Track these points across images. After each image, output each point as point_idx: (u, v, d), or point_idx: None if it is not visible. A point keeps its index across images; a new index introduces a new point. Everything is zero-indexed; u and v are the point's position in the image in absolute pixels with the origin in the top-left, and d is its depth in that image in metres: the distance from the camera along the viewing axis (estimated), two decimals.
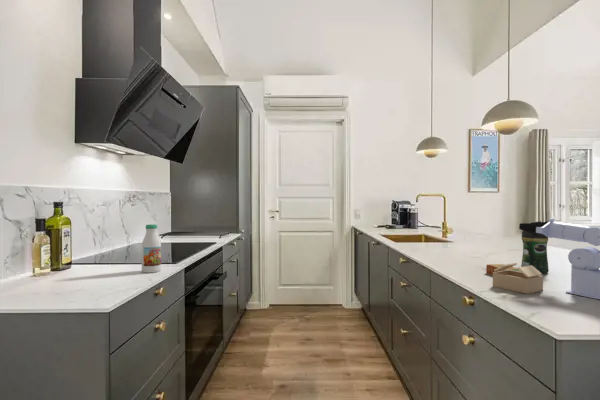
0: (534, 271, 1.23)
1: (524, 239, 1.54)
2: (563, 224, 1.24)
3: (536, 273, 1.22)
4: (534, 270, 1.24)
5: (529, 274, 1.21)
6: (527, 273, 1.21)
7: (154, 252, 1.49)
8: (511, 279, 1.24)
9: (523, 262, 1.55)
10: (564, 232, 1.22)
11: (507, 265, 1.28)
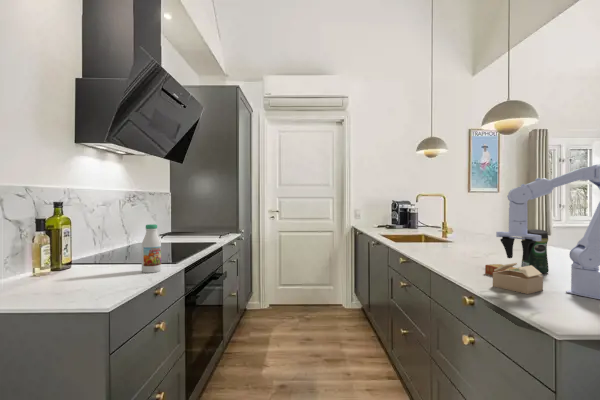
0: (534, 271, 1.23)
1: None
2: (517, 223, 1.24)
3: (536, 273, 1.22)
4: (534, 270, 1.24)
5: (529, 274, 1.21)
6: (527, 273, 1.21)
7: (154, 252, 1.49)
8: (511, 279, 1.24)
9: (523, 262, 1.55)
10: (520, 219, 1.24)
11: (507, 265, 1.28)
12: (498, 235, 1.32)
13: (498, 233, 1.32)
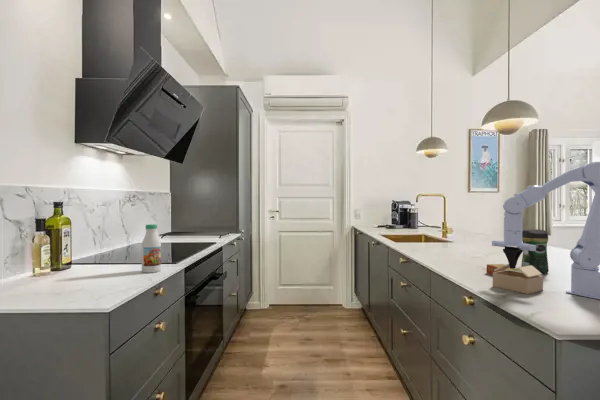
0: (534, 271, 1.23)
1: (524, 239, 1.54)
2: (512, 232, 1.26)
3: (536, 273, 1.22)
4: (534, 270, 1.24)
5: (529, 274, 1.21)
6: (527, 273, 1.21)
7: (154, 252, 1.49)
8: (511, 279, 1.24)
9: (523, 262, 1.55)
10: (514, 229, 1.25)
11: (507, 265, 1.28)
12: (493, 244, 1.33)
13: (493, 242, 1.33)
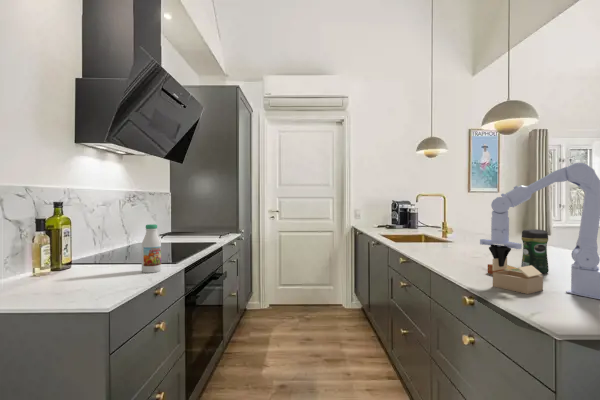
0: (534, 271, 1.23)
1: (524, 239, 1.54)
2: (499, 231, 1.30)
3: (536, 273, 1.22)
4: (534, 270, 1.24)
5: (529, 274, 1.21)
6: (527, 273, 1.21)
7: (154, 252, 1.49)
8: (511, 279, 1.24)
9: (523, 262, 1.55)
10: (500, 228, 1.30)
11: (497, 258, 1.31)
12: (481, 243, 1.37)
13: (481, 241, 1.37)
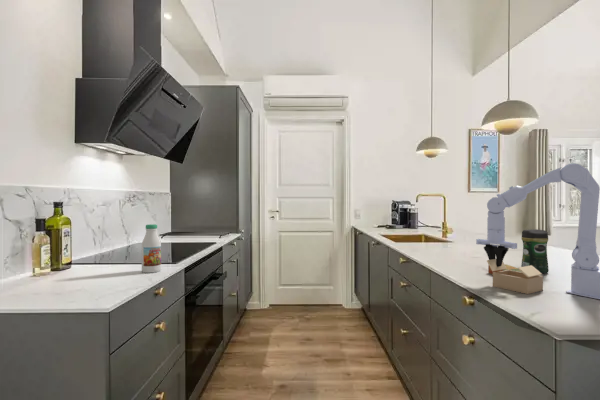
0: (534, 271, 1.23)
1: (524, 239, 1.54)
2: (495, 231, 1.31)
3: (536, 273, 1.22)
4: (534, 270, 1.24)
5: (529, 274, 1.21)
6: (527, 273, 1.21)
7: (154, 252, 1.49)
8: (511, 279, 1.24)
9: (523, 262, 1.55)
10: (495, 228, 1.31)
11: None
12: (478, 242, 1.39)
13: (478, 241, 1.38)
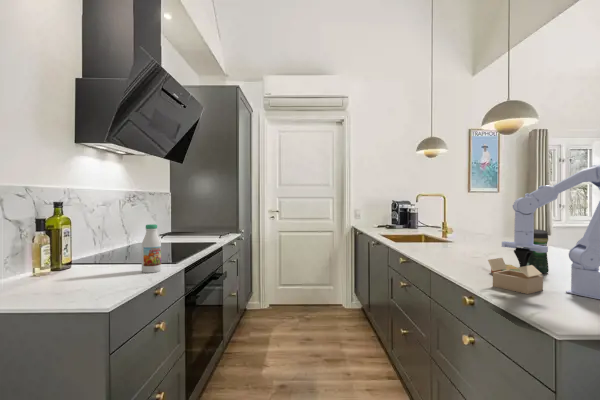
0: (534, 271, 1.23)
1: None
2: (523, 233, 1.22)
3: (536, 273, 1.22)
4: (534, 270, 1.24)
5: (529, 274, 1.21)
6: (527, 273, 1.21)
7: (154, 252, 1.49)
8: (511, 279, 1.24)
9: None
10: (526, 230, 1.22)
11: (492, 259, 1.32)
12: (503, 245, 1.30)
13: (503, 243, 1.30)
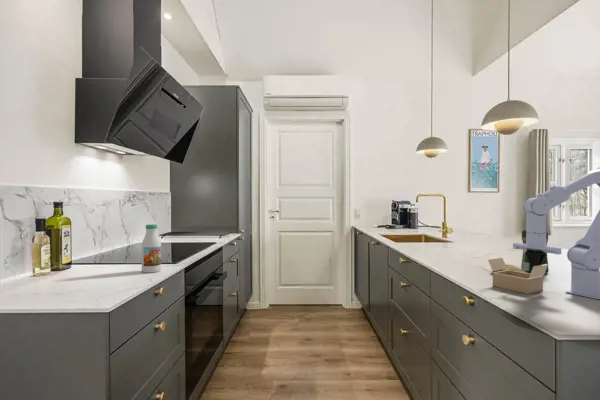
0: (541, 272, 1.21)
1: (524, 239, 1.54)
2: (536, 235, 1.19)
3: (539, 275, 1.22)
4: (542, 271, 1.22)
5: (533, 275, 1.19)
6: (533, 274, 1.19)
7: (154, 252, 1.49)
8: (511, 279, 1.24)
9: (523, 262, 1.55)
10: (540, 231, 1.18)
11: (492, 259, 1.32)
12: (515, 247, 1.26)
13: (515, 245, 1.26)
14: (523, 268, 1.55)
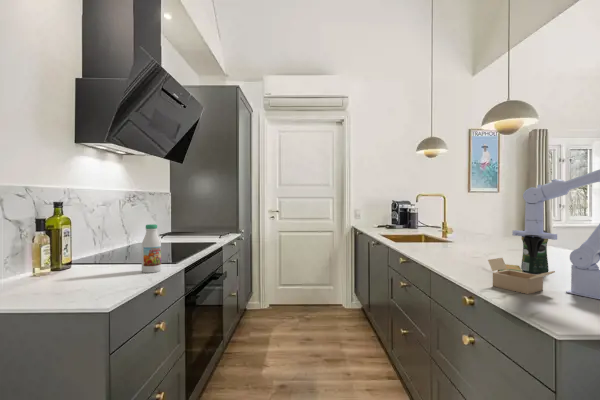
0: (543, 275, 1.21)
1: None
2: (534, 222, 1.29)
3: None
4: (545, 275, 1.21)
5: None
6: (535, 277, 1.19)
7: (154, 252, 1.49)
8: (511, 279, 1.24)
9: (523, 262, 1.55)
10: (531, 218, 1.29)
11: (492, 259, 1.32)
12: (514, 234, 1.36)
13: (514, 232, 1.36)
14: (523, 268, 1.55)
